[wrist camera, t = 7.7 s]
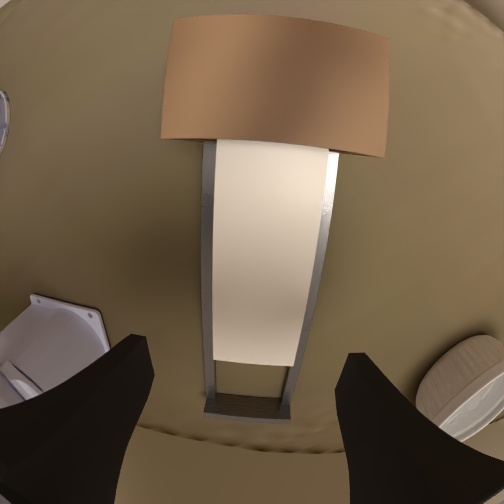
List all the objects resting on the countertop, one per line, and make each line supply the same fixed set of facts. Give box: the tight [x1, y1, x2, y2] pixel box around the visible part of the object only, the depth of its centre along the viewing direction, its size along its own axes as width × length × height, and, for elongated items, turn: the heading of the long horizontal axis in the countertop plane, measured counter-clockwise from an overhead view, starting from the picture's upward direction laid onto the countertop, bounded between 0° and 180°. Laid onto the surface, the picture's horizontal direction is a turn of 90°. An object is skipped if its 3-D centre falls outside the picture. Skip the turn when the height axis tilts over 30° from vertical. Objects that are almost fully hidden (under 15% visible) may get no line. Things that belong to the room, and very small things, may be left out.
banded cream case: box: [212, 139, 329, 366], centre depth 14 cm, size 5×14×5 cm, turn 176°
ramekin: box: [416, 335, 504, 442], centre depth 18 cm, size 13×13×7 cm
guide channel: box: [201, 142, 339, 424], centre depth 18 cm, size 8×22×2 cm, turn 176°
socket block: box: [161, 14, 389, 158], centre depth 11 cm, size 8×5×7 cm, turn 86°
